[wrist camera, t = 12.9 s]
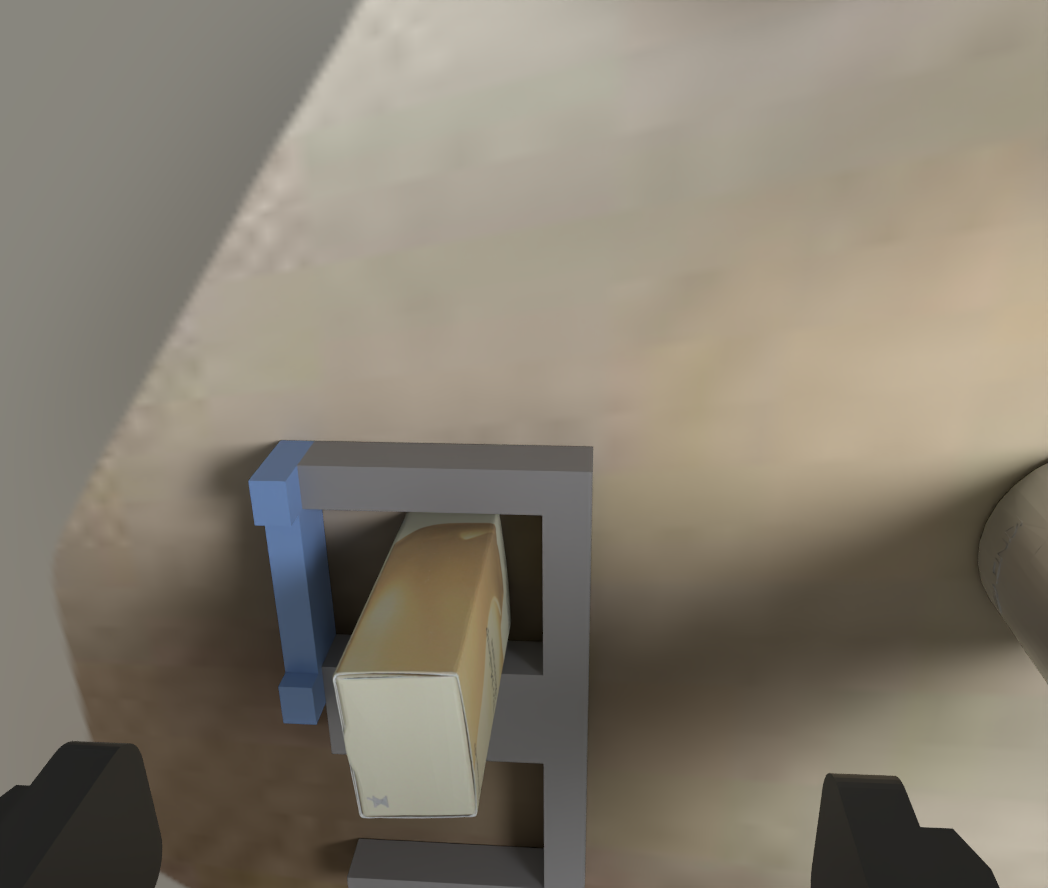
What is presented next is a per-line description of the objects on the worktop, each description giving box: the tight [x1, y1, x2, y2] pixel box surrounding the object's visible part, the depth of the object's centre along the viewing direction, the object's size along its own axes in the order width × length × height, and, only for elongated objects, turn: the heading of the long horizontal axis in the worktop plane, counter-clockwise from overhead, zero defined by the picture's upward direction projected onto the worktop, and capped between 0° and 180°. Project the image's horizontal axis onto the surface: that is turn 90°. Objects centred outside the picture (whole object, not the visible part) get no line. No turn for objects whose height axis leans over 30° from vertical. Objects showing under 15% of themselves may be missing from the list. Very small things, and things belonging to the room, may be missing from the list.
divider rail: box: [248, 440, 593, 888], centre depth 43 cm, size 14×25×4 cm, turn 1°
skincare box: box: [333, 512, 511, 818], centre depth 37 cm, size 6×4×12 cm
